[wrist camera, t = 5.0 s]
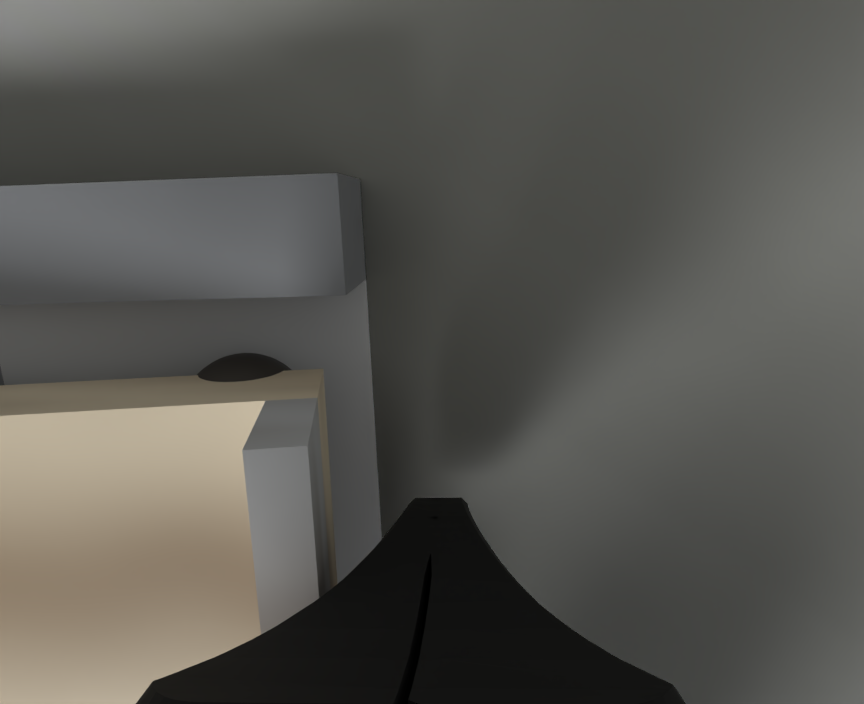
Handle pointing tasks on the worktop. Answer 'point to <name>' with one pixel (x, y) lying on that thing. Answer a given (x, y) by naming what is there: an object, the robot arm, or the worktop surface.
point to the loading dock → (200, 298)
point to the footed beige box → (156, 523)
